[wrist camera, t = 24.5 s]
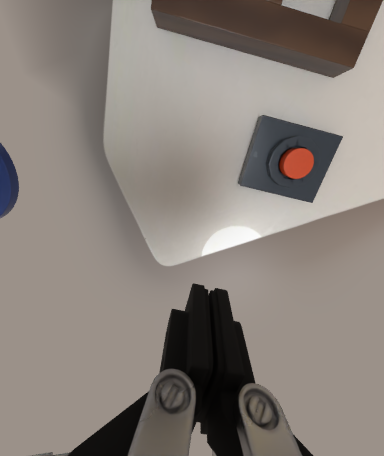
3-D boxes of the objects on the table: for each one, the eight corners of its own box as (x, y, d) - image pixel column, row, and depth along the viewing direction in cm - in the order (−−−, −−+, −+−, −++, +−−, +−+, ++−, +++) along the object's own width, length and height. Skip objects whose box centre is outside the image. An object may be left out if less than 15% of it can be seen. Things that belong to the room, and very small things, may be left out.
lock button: (274, 173, 30) (279, 175, 29) (285, 144, 29) (290, 144, 27) (300, 179, 31) (306, 181, 29) (312, 151, 29) (319, 152, 28)
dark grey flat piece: (237, 183, 35) (242, 187, 31) (258, 116, 31) (266, 113, 27) (305, 199, 35) (318, 206, 32) (333, 136, 32) (351, 135, 28)
